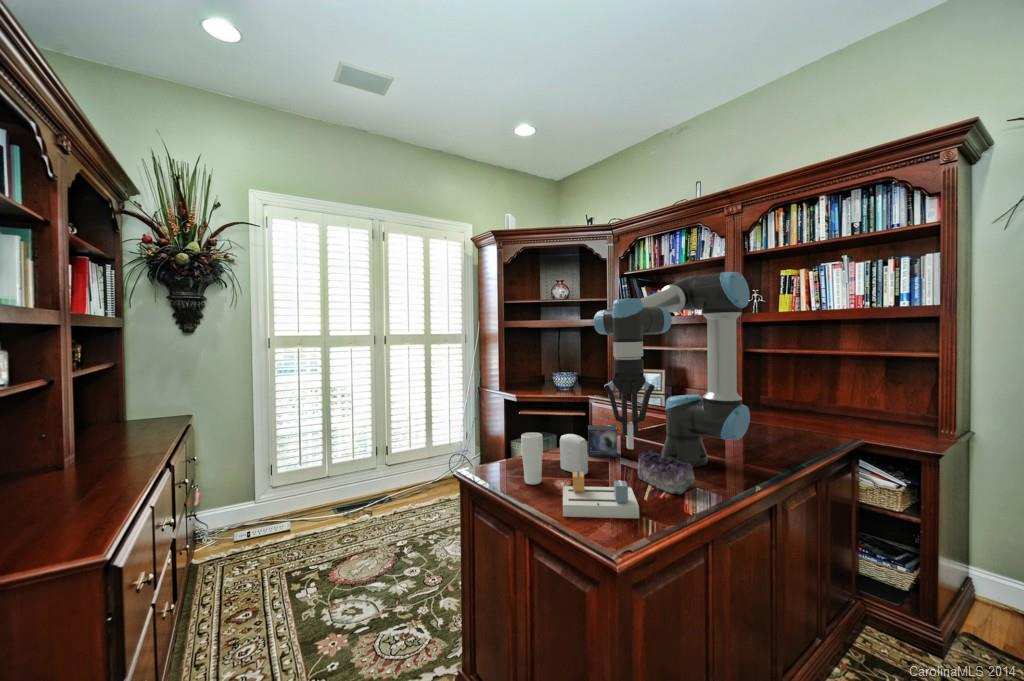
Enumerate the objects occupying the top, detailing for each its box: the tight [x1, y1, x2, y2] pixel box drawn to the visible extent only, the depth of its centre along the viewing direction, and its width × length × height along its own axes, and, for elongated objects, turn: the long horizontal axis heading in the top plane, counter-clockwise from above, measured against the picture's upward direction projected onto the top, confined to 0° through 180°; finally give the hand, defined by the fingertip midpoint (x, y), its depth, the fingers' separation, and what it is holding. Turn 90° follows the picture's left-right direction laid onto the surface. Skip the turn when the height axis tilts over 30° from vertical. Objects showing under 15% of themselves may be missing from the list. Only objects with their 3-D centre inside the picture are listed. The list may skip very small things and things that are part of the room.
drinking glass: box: [520, 432, 544, 486], centre depth 135 cm, size 7×7×15 cm
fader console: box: [562, 485, 640, 519], centre depth 115 cm, size 19×13×3 cm
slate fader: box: [613, 479, 629, 502], centre depth 111 cm, size 3×4×4 cm
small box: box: [587, 425, 618, 458], centre depth 162 cm, size 11×6×10 cm, turn 81°
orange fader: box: [572, 471, 585, 492], centre depth 119 cm, size 3×4×4 cm
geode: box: [636, 448, 696, 496], centre depth 131 cm, size 20×12×10 cm, turn 28°
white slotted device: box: [559, 433, 589, 476], centre depth 144 cm, size 10×4×12 cm, turn 39°
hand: (630, 447), depth 113 cm, fingers closed
